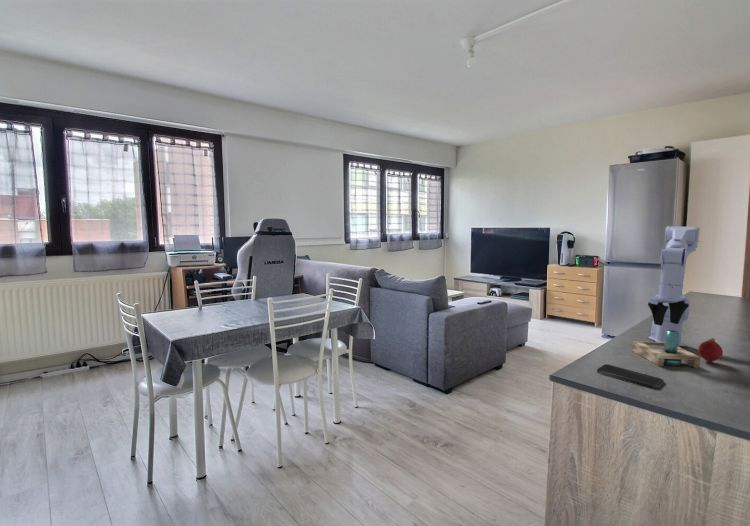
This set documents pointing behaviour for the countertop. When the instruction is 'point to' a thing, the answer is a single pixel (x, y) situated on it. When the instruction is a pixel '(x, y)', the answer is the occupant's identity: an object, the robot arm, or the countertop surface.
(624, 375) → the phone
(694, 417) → the countertop surface
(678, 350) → the beige wooden frame
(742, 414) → the countertop surface
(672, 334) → the peg
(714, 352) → the onion
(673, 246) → the robot arm
